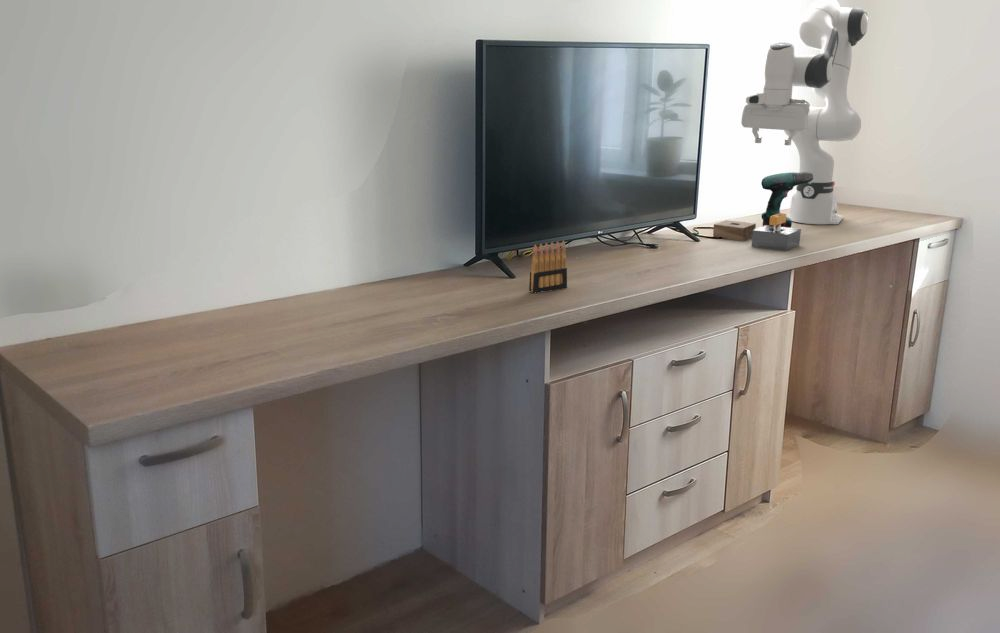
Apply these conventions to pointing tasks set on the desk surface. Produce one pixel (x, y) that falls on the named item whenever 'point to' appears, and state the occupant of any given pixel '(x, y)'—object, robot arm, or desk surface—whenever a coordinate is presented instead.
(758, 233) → the block
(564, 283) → the ammunition clip
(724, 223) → the wooden square hole block
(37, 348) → the desk surface
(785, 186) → the power drill
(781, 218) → the block
